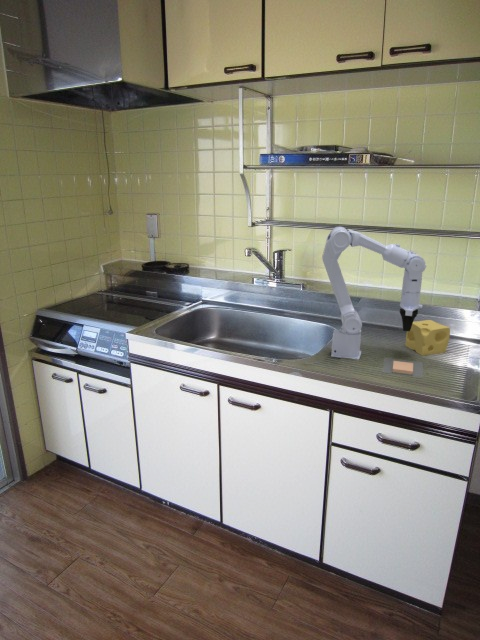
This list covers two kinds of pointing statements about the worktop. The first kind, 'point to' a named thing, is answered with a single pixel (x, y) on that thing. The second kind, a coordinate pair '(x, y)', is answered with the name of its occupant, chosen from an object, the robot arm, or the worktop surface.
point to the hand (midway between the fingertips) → (406, 330)
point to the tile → (402, 368)
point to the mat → (416, 365)
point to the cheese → (428, 337)
